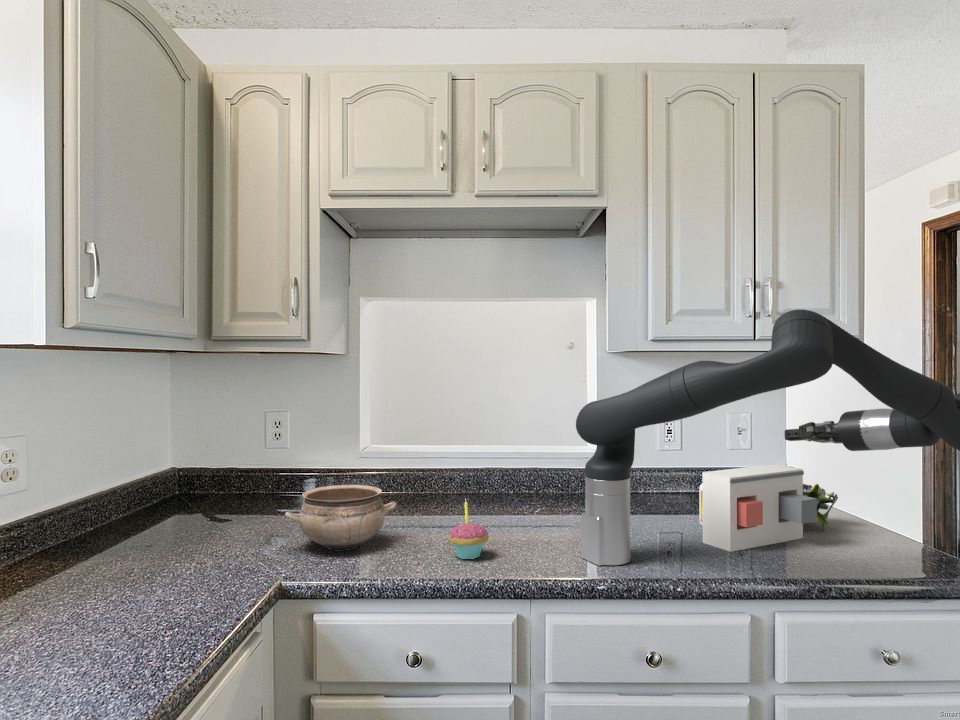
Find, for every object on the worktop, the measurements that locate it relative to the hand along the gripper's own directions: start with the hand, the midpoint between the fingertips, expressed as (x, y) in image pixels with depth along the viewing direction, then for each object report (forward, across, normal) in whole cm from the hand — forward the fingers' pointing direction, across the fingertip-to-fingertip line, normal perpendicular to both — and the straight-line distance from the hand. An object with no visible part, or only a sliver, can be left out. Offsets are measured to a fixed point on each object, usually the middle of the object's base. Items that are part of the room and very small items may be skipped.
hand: (786, 435), depth 137 cm
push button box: (+16, +11, -22) cm, 30 cm away
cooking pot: (+65, -68, -29) cm, 99 cm away
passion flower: (+16, +33, -18) cm, 41 cm away
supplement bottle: (+30, +15, -19) cm, 38 cm away
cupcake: (+43, -48, -29) cm, 71 cm away
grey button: (+8, +16, -16) cm, 24 cm away
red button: (+13, +4, -18) cm, 23 cm away
